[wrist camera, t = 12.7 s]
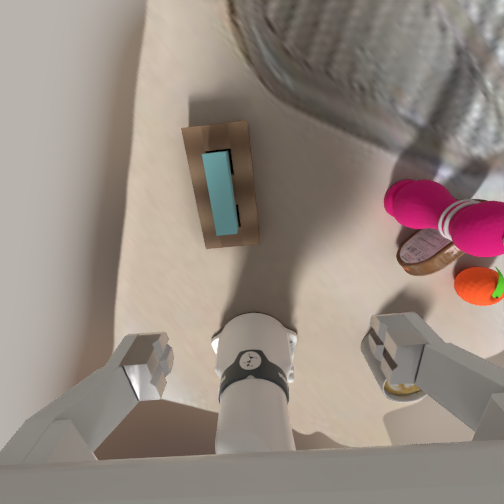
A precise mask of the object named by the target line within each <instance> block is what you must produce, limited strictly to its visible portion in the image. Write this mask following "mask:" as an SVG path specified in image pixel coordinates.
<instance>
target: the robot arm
mask: <svg viewBox="0 0 504 504" xmlns="http://www.w3.org/2000/svg"><path fill="white" fill-rule="evenodd" d="M370 324H371V326H372V328H373V329H372V330H371V331H370V332H369V339H368V340H369V346H370V349H371V352H372V354H373V355H374V357H375V358H376V359H377V360H379V361H380V362H381V370H382V371H383V373H384V375H385V377H386V378H387V380H388V382H389V384H412V383H415V385H416V386H417V387H419V388H420V389H421V390H422V391H424V392H425V393H426V394H427V395H429V396H430V397H431V398H433V399H434V400H435V401H436V402H438V403H439V404H440V405H441V406H443V407H444V408H445V409H447V410H448V411H449V412H450V413H452V414H453V415H454V416H456V417H457V418H458V419H459V420H461V421H462V422H463V423H464V424H466V425H467V426H468V427H470V428H471V429H472V430H473V431H475V432H474V435H473V437H472V439H471V441H470V442H451V443H431V444H412V445H392V446H373V447H353V448H335V449H316V450H296V448H295V444H294V439H293V434H292V429H291V424H290V418H289V412H288V402H289V387H288V383H287V382H290V383H292V382H293V379H294V377H293V371H294V368H293V364H292V360H293V356H294V351H295V347H296V342H297V334H296V333H295V332H294V331H292V330H289V329H287V328H285V327H284V326H283V325H282V324H281V323H280V322H279V321H277V320H276V319H275V318H273V317H271V316H268V315H265V314H261V313H247V314H243V315H240V316H237V317H235V318H233V319H232V320H230V321H229V322H228V323H227V324H226V325H225V327H224V329H223V330H222V332H221V333H220V334H218V335H217V336H215V337H214V338H213V339H212V343H211V345H212V347H213V349H214V351H215V353H216V364H215V372H217V374H218V376H219V378H220V379H221V382H220V386H219V402H220V410H219V418H218V426H217V434H216V441H215V449H216V455H197V456H177V457H159V458H158V457H157V458H137V459H119V460H98V459H97V458H96V456H95V455H94V453H93V452H94V451H95V449H96V448H97V447H98V446H99V445H100V444H101V443H102V442H103V441H104V439H106V437H107V436H108V435H109V434H110V433H111V432H112V431H113V430H114V429H115V428H116V427H117V425H118V424H119V423H120V422H121V421H122V420H123V419H124V418H125V417H126V416H127V414H128V413H129V412H130V411H131V410H132V409H133V408H134V407H135V406H136V405H137V403H138V401H143V400H144V401H145V400H155V399H161V397H162V394H163V391H164V389H165V386H166V383H167V382H166V379H165V377H166V376H167V375H168V374H169V373H170V372H171V369H172V366H173V359H174V356H173V350H172V347H170V346H169V345H168V344H167V343H168V340H169V338H168V336H167V333H165V332H153V333H140V334H128V335H126V336H125V337H124V339H123V340H122V342H121V343H120V344H119V346H118V347H117V349H116V350H115V352H114V353H113V355H112V356H111V358H110V359H109V361H108V362H107V364H106V365H105V367H104V368H100V369H98V370H96V371H95V372H94V373H92V374H91V375H89V376H88V377H87V378H85V379H84V380H82V381H81V382H80V383H78V384H77V385H75V386H74V387H73V388H71V389H70V390H68V391H67V392H66V393H64V394H63V395H61V396H60V397H58V398H57V399H56V400H54V401H53V402H51V403H50V404H49V405H47V406H46V407H44V408H43V409H41V410H40V411H39V412H37V413H36V414H34V415H33V416H32V417H30V418H29V419H27V420H26V421H25V422H24V424H23V425H22V426H21V427H20V428H19V430H18V431H17V432H16V433H15V434H14V436H13V437H12V438H11V439H10V440H9V442H8V443H7V444H6V446H4V448H3V449H2V450H1V451H0V504H504V368H502V367H500V366H498V365H495V364H494V363H491V362H489V361H487V360H485V359H483V358H481V357H479V356H477V355H475V354H473V353H470V352H468V351H466V350H464V349H462V348H460V347H458V346H456V345H454V344H452V343H445V342H444V341H443V340H442V339H441V338H440V337H439V336H438V335H437V334H436V333H435V332H434V331H433V330H432V328H431V327H430V326H429V325H428V324H427V323H426V322H425V321H424V320H423V319H422V318H421V317H420V316H419V315H418V314H417V313H415V312H404V313H395V314H384V315H372V317H371V321H370Z"/></svg>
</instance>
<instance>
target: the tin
mask: <svg viewBox="0 0 504 504" xmlns="http://www.w3.org/2000/svg"><path fill="white" fill-rule="evenodd" d="M471 200H475V201H479V202H486V201H487V200H481V199H471ZM463 254H465V252H463V251H461V250H460V249H458V248H457V247H456V246H455V244H454V243H453V241H451V240H449V239H447V238H445V237H443V236H442V235H441V234H440V232H439V230H437V229H434V228H426V229H419V230H418V231H417V232H416V233H414V234H413V235H412V236H411V237H409V238H408V239H407V240H406V241H404V242H403V244H402V245H401V246H400V247H399V249H398V251H397V255H396V257H397V261H398V263H399V264H400V265H401V266H402V267H403V268H404V270H405V271H406V272H407V273H408V274H411V275H414V276H425V275H429V274H433V273H435V272H438V271H440V270H442V269H443V268H445V267H446V266H448V265H449V264H450V263H452V262H453V261H455V260H456V259H458V258H459V257H460V256H462V255H463Z"/></svg>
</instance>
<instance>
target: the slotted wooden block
mask: <svg viewBox="0 0 504 504" xmlns="http://www.w3.org/2000/svg"><path fill="white" fill-rule="evenodd" d="M181 130H182V135H183V139H184V144H185V149H186V154H187V159H188V164H189V169H190V174H191V178H192V183H193V188H194V193H195V198H196V203H197V208H198V213H199V217H200V222H201V227H202V232H203V237H204V242H205V247H206V249H211V248H222V247H232V246H242V245H253V244H260V238H259V227H258V217H257V208H256V198H255V188H254V178H253V169H252V159H251V149H250V139H249V129H248V121H247V120H243V121H235V122H227V123H219V124H211V125H203V126H195V127H187V128H181ZM229 148H231V155H232V163H233V170H234V172H232V173H231V177H232V184H233V192H234V199H235V205H238V208H239V215H240V220H238V232H237V234H230V235H220V236H217V235H216V229H215V224H214V218H213V213H212V207H211V202H210V196H209V191H208V185H207V180H206V175H205V169H204V164H203V158H202V154H206V153H210V151H212V150H221V149H229Z"/></svg>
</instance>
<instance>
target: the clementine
mask: <svg viewBox="0 0 504 504" xmlns="http://www.w3.org/2000/svg"><path fill="white" fill-rule="evenodd" d="M495 268H496V267H495ZM496 269H497V268H496ZM497 271H498V272H496V271H494V270H492V269H489V268H485V267H471V268H467V269H465V270H463V271H461V272H460V273H459V274H458V275H457V276H456V278H455V281H454V288H455V290H456V292H457V294H458V295H459V296H460V297H461V298H462V299H463V300H465V301H467V302H469V303H471V304H475V305H480V306H486V305H492V304H495V303H497V302H499V301H501V300H502V299H503V298H504V278H503V275H502V274H501V272H500V271H499V270H498V269H497Z"/></svg>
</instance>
